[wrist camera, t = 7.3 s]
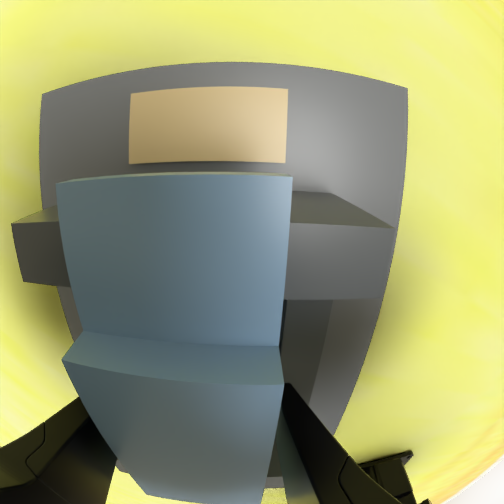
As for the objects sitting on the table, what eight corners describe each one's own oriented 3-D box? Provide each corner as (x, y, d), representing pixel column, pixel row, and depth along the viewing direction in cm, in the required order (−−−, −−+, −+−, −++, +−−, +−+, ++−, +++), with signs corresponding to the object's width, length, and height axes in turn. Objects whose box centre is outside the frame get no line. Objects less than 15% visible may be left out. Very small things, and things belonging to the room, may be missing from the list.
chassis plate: (325, 439, 15) (338, 501, 10) (121, 428, 15) (101, 486, 10) (397, 91, 8) (489, 67, 3) (53, 96, 8) (-37, 86, 3)
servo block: (253, 425, 13) (256, 521, 7) (181, 420, 13) (164, 513, 7) (268, 163, 9) (306, 184, 3) (147, 164, 9) (18, 194, 3)
